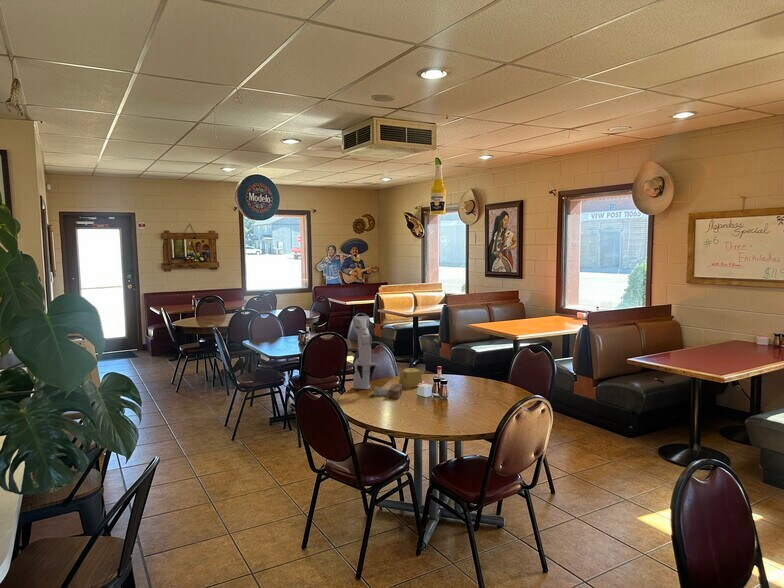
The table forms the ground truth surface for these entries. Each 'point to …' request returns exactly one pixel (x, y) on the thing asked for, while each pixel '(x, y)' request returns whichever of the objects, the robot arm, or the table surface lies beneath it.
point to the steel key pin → (380, 392)
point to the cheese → (410, 377)
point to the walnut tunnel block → (395, 391)
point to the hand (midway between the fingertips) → (366, 378)
